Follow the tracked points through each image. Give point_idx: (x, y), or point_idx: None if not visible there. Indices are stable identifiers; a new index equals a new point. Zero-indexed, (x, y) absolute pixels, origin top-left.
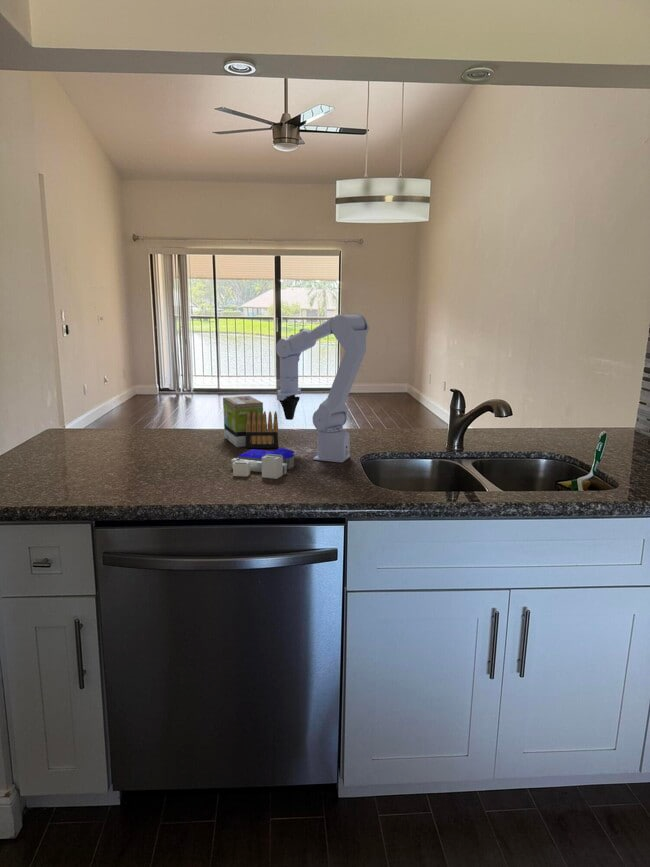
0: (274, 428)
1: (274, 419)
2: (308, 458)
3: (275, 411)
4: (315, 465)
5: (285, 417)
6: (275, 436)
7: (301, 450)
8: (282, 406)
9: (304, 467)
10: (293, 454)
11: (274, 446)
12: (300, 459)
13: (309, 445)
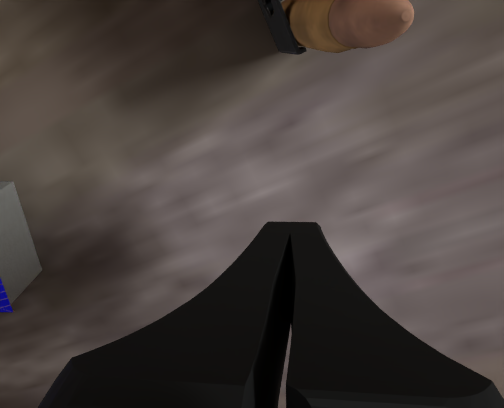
0: (296, 20)
1: (329, 13)
2: (151, 305)
3: (391, 20)
4: (62, 363)
5: (261, 231)
6: (284, 32)
7: (301, 217)
8: (176, 314)
9: (6, 334)
10: (11, 298)
11: (268, 23)
12: (112, 278)
13: (458, 216)
